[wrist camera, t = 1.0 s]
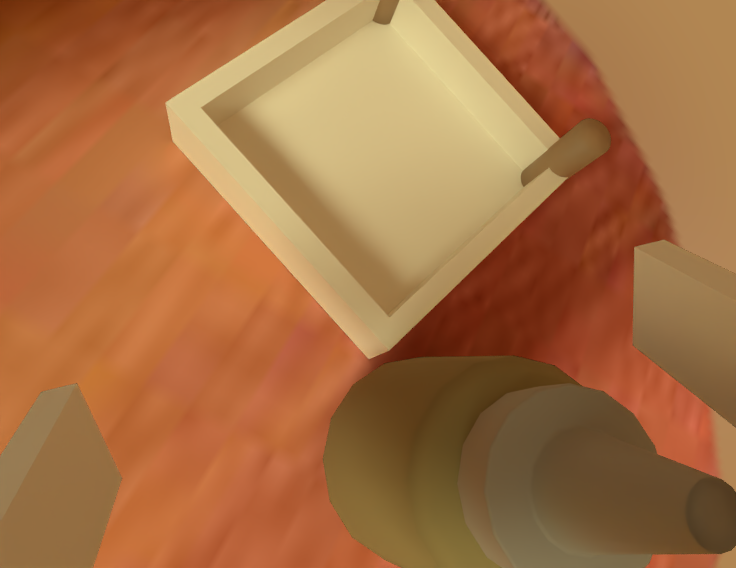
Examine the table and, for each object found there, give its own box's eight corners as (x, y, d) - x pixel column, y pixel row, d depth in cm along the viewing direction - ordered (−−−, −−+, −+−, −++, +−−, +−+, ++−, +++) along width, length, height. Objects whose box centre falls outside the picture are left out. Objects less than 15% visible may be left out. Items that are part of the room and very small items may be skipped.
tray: (171, 139, 27) (157, 65, 21) (377, 2, 32) (410, -89, 26) (370, 360, 27) (409, 344, 21) (547, 190, 31) (618, 140, 26)
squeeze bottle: (473, 366, 28) (857, 286, 11) (480, 542, 26) (956, 772, 9) (311, 362, 26) (473, 258, 9) (306, 551, 24) (500, 863, 7)
